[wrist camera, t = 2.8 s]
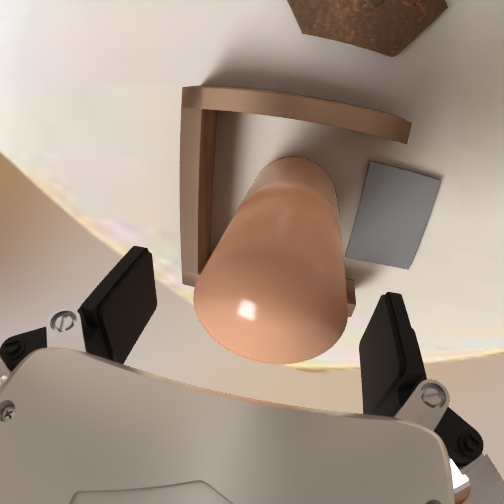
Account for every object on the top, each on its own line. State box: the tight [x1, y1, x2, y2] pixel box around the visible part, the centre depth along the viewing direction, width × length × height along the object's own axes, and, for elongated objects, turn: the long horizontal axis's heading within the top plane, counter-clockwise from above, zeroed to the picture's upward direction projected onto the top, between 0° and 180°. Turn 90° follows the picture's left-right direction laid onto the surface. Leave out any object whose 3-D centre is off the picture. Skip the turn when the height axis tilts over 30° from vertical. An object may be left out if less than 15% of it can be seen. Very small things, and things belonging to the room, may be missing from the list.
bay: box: [180, 85, 412, 317], centre depth 19 cm, size 12×13×3 cm
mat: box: [345, 161, 441, 270], centre depth 19 cm, size 5×7×1 cm
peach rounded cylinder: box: [193, 157, 348, 364], centre depth 16 cm, size 6×8×11 cm
